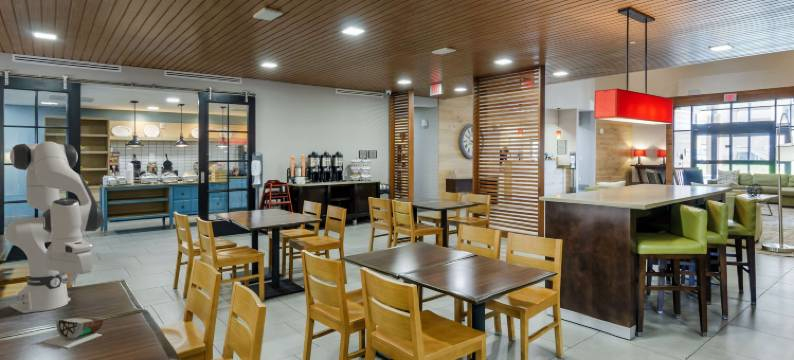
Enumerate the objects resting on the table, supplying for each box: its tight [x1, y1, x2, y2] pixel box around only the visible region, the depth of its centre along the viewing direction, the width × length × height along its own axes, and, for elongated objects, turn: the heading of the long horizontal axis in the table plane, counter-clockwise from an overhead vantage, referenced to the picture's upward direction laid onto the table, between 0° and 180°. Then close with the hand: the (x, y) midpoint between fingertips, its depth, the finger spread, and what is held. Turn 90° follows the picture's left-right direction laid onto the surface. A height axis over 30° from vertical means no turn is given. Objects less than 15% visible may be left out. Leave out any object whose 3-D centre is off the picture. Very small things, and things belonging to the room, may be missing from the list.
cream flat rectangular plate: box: [41, 332, 103, 349], centre depth 164 cm, size 14×12×1 cm
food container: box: [55, 316, 104, 339], centre depth 166 cm, size 12×6×10 cm
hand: (68, 283), depth 162 cm, fingers closed
